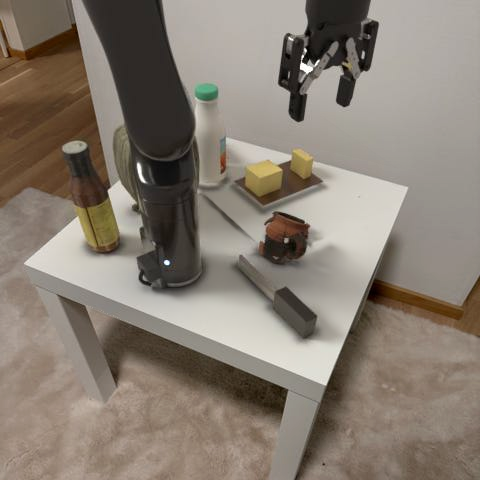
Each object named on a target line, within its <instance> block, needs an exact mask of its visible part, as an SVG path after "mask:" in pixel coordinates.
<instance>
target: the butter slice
mask: <svg viewBox="0 0 480 480" xmlns="http://www.w3.org/2000/svg"><path fill="white" fill-rule="evenodd" d="M291 151H292V152H291V158H290V160H291V166H290V169H291V170H292V171H294V172H295V173H296V174H298V175H299V176H300V177H302V178H303V179H306V178H308V177H311V173H313V172H312V171H313V165H314V159H315V158H314V157H312V156H311V155H310V154H308V153H307V152H306V151H303V150H302V149H300V148H296V149H293V150H291Z"/></svg>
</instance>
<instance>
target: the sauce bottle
mask: <svg viewBox="0 0 480 480" xmlns="http://www.w3.org/2000/svg"><path fill="white" fill-rule="evenodd" d="M61 151H62V154H63V157H64V159H65V160H66V163H67V165H68V168H69V173H70V175H69V176H70V177H69V180H68V190H69V193H70V196H71V199H72V203H73V206H74V209H75V212H76V215H77V218H78V220H79V222H80V226H81V229H82V232H83V234H84V237H85V240H86V242H87V244H88V246H89V248H90V249H91V250H92V251H95V252H97V253H108V252H112V251H113V250H116V249H117V248H118V246H119V245H120V243H121V237H120V229H119V225H118V222H117V219H116V216H115V211H114V209H113V208H114V207H113V205H112V201H111V197H110V194H109V190H108V187H107V186H106V184H105V183H104V181H103V180H102V179H101V177H100V175H99V174H98V172H97V170H96V169H95V168H94V167H95V166H94V165H93V162H92V159H91V155H90V154H91V153H90V152H91V151H90V148H89V145H88V144H87V142H85V141H82V140H72V141H69V142H67V143H65V144H64V145H63V146H62V147H61Z"/></svg>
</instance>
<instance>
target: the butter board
mask: <svg viewBox="0 0 480 480" xmlns="http://www.w3.org/2000/svg"><path fill="white" fill-rule="evenodd" d="M276 165H277V166H278V167H279V168H281V169H282V170H283V172H282V181H281V189H278V190H275V191H273V192H270V193H268V194H265V195H263V196H260V197H258V196H257V195H256V194H254V193H253V192H252V191H251V190H250V189H248V188H247V187H246V186H245V179H246V176H244V177H241V178H238V179H235V180H234V181H233V182H234V183H235V184H236V185H238V186H239V187H240V188H241V189H242V190H244V191H245V192H246V193H247V194H248V195H250V196H251V197H252V198H253V199H254V200H256V201H257V202H258V203H259V204H261V206H263V207H265V206H268V205H269V204H271V203H275V202H277V201H279V200H281V199H284V198H287V197H289V196H292V195H294V194H297V193H299V192H302V191H304V190H306V189H309V188H312V187H313V186H317V185H319V184H322V183H323V182H325V181H324V180H323V179H321V178H320V177H319V176H317V175H316V174H314V173H313V172H311V177H308V178H306V179H303V178H302V177H300V176H299V175H298V174H296V173H295V172H294V171H292V170H291V169H290V166H291V159H290V160H287V161H285V162H282V163H280V164H276Z"/></svg>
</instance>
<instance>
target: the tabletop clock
mask: <svg viewBox="0 0 480 480" xmlns="http://www.w3.org/2000/svg"><path fill="white" fill-rule="evenodd" d="M192 144H193V153H194V160H195V167H196V174H197V191H199V187H200V186H199V185H200V182H199V168H200V159H199V151H198V144H197V140H196V137H195V135H194V139H193V142H192ZM112 152H113V161H114V167H115V170H116V173H117V175H118V179H119V182H120V183H121V185H122V186H123V188H124V189H125V190H126V192H127V193H128V194H129V195H130V197H131V198H132V199H133V201H135V203H133V204H132V205H131V210H132V211H133V212H138V211H140V205H139V200H138V194H137V188H136V183H135V178H134V171H133V164H132V157H131V150H130V144H129V139H128V134H127V132H126V128H125V123H122V124H121V125H119V126H118V127H116V128H115V129H113V134H112Z"/></svg>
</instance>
